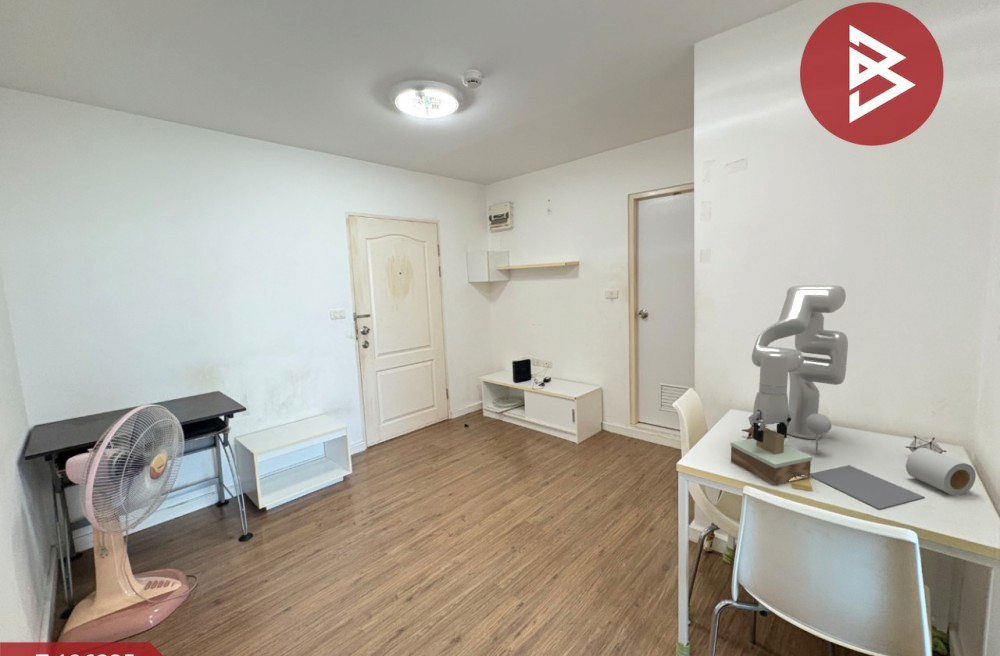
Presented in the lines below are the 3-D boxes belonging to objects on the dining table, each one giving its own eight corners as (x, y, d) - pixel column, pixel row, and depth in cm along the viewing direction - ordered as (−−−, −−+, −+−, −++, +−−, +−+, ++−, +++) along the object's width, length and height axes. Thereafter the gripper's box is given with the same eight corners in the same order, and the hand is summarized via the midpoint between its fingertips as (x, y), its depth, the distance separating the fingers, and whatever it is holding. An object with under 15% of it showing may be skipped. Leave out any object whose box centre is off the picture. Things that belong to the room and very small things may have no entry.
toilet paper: (973, 494, 116) (977, 462, 114) (942, 497, 115) (946, 464, 113) (933, 476, 126) (936, 446, 124) (904, 479, 125) (907, 449, 123)
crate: (763, 455, 144) (764, 439, 143) (809, 477, 128) (810, 460, 127) (730, 461, 140) (731, 445, 140) (773, 485, 124) (774, 467, 124)
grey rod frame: (925, 468, 137) (943, 445, 136) (939, 471, 130) (958, 446, 129) (894, 451, 141) (912, 428, 141) (906, 452, 134) (925, 428, 133)
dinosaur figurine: (773, 451, 147) (775, 427, 145) (756, 451, 147) (758, 427, 146) (754, 435, 160) (755, 414, 159) (739, 435, 161) (740, 414, 159)
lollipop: (824, 450, 145) (826, 411, 143) (832, 459, 139) (836, 418, 137) (800, 448, 148) (803, 409, 146) (808, 457, 141) (811, 416, 139)
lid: (764, 441, 143) (765, 420, 142) (811, 463, 127) (813, 439, 126) (730, 448, 140) (731, 426, 139) (774, 471, 124) (776, 446, 122)
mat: (848, 466, 134) (848, 465, 134) (924, 498, 115) (924, 496, 115) (807, 475, 129) (807, 474, 129) (879, 510, 110) (879, 508, 110)
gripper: (782, 383, 136) (779, 431, 138) (741, 388, 132) (739, 437, 134) (804, 389, 129) (801, 439, 131) (761, 395, 124) (758, 446, 127)
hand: (769, 438), depth 132 cm, fingers open, 9 cm apart
